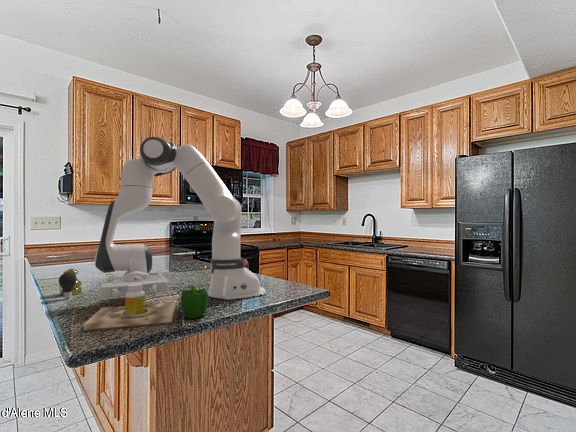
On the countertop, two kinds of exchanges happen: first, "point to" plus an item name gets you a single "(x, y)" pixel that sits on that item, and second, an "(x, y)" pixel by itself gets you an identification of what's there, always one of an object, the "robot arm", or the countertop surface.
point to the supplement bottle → (135, 300)
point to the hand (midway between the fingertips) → (135, 292)
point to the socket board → (131, 317)
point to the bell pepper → (194, 302)
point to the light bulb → (67, 283)
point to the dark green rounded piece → (76, 288)
